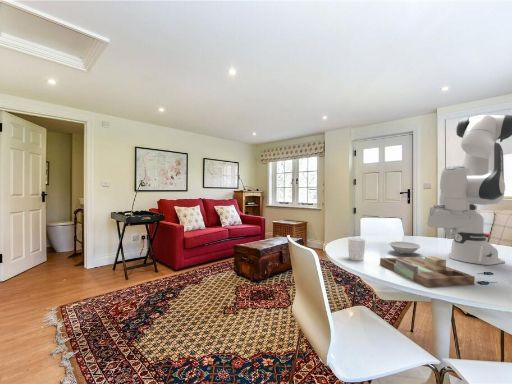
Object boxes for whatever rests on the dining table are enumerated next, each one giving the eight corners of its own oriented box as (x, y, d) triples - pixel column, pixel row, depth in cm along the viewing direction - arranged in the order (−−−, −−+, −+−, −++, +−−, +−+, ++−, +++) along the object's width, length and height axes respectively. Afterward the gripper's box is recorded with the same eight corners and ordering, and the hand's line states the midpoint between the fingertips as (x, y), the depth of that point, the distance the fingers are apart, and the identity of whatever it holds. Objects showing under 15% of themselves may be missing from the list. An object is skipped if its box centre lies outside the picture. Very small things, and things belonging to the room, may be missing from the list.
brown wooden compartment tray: (418, 263, 118) (418, 251, 118) (474, 284, 92) (474, 269, 92) (380, 264, 114) (380, 252, 114) (427, 287, 89) (427, 272, 89)
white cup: (367, 258, 124) (367, 239, 123) (361, 262, 118) (361, 241, 118) (351, 255, 129) (351, 236, 129) (345, 258, 123) (345, 238, 123)
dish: (396, 248, 146) (397, 240, 145) (425, 254, 134) (425, 244, 134) (383, 253, 135) (383, 244, 134) (412, 259, 123) (412, 249, 123)
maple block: (435, 265, 104) (435, 256, 104) (445, 269, 99) (446, 259, 99) (424, 266, 104) (424, 256, 103) (435, 270, 99) (435, 260, 99)
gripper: (437, 205, 98) (435, 240, 98) (480, 206, 101) (479, 240, 101) (424, 204, 104) (422, 237, 104) (465, 205, 107) (464, 237, 107)
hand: (451, 238), depth 103 cm, fingers closed
